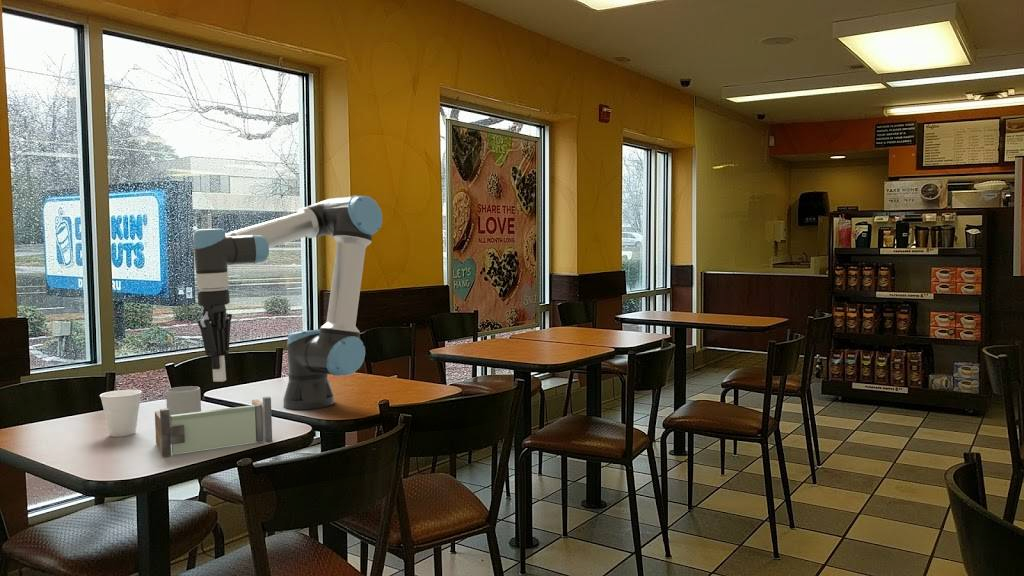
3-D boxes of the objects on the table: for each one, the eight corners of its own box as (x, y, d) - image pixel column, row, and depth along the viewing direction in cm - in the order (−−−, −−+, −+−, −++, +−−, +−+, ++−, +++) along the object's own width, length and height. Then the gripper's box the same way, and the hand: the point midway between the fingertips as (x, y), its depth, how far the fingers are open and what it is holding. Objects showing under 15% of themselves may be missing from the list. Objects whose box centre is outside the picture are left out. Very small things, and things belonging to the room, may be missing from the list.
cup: (101, 432, 200) (99, 391, 200) (143, 428, 205) (141, 388, 204) (100, 441, 192) (98, 398, 191) (144, 436, 196) (142, 394, 196)
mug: (201, 431, 200) (199, 390, 200) (166, 434, 197) (164, 393, 197) (203, 421, 212) (201, 383, 211) (170, 424, 209) (168, 385, 208)
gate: (262, 439, 189) (261, 404, 188) (264, 441, 187) (262, 405, 187) (171, 452, 178) (170, 415, 177) (173, 454, 176) (171, 416, 176)
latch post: (175, 441, 189) (173, 398, 189) (185, 455, 177) (183, 408, 176) (155, 444, 187) (153, 400, 186) (163, 458, 174) (161, 411, 174)
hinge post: (258, 430, 200) (257, 389, 200) (272, 441, 188) (270, 397, 188) (252, 431, 199) (251, 390, 199) (265, 442, 188) (264, 398, 187)
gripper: (212, 287, 198) (219, 375, 200) (185, 292, 186) (192, 386, 188) (239, 286, 197) (245, 375, 199) (213, 291, 185) (220, 386, 187)
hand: (219, 380), depth 194 cm, fingers closed
